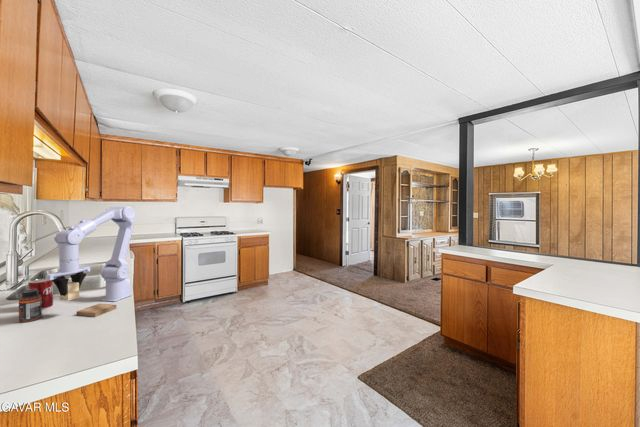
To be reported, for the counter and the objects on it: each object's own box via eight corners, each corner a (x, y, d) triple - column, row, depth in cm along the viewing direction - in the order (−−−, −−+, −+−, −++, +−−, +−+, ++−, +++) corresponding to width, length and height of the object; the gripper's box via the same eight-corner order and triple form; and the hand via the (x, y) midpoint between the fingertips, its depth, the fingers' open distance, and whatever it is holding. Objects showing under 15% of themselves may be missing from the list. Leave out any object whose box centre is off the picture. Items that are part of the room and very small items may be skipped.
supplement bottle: (16, 320, 101) (16, 291, 101) (38, 315, 106) (38, 287, 106) (22, 324, 98) (21, 293, 98) (44, 318, 103) (44, 289, 103)
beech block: (71, 296, 109) (71, 282, 108) (79, 297, 108) (78, 282, 108) (60, 299, 105) (59, 284, 104) (68, 300, 104) (67, 285, 104)
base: (98, 307, 115) (98, 303, 115) (116, 308, 114) (116, 304, 114) (76, 315, 106) (76, 311, 106) (95, 316, 105) (95, 312, 105)
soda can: (53, 303, 119) (52, 277, 119) (53, 308, 114) (52, 280, 113) (29, 308, 114) (28, 280, 114) (27, 312, 109) (27, 283, 108)
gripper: (80, 256, 114) (81, 287, 114) (39, 263, 99) (39, 298, 100) (94, 256, 112) (94, 288, 113) (54, 263, 98) (54, 300, 99)
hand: (69, 293), depth 106 cm, fingers closed on beech block, 4 cm apart
